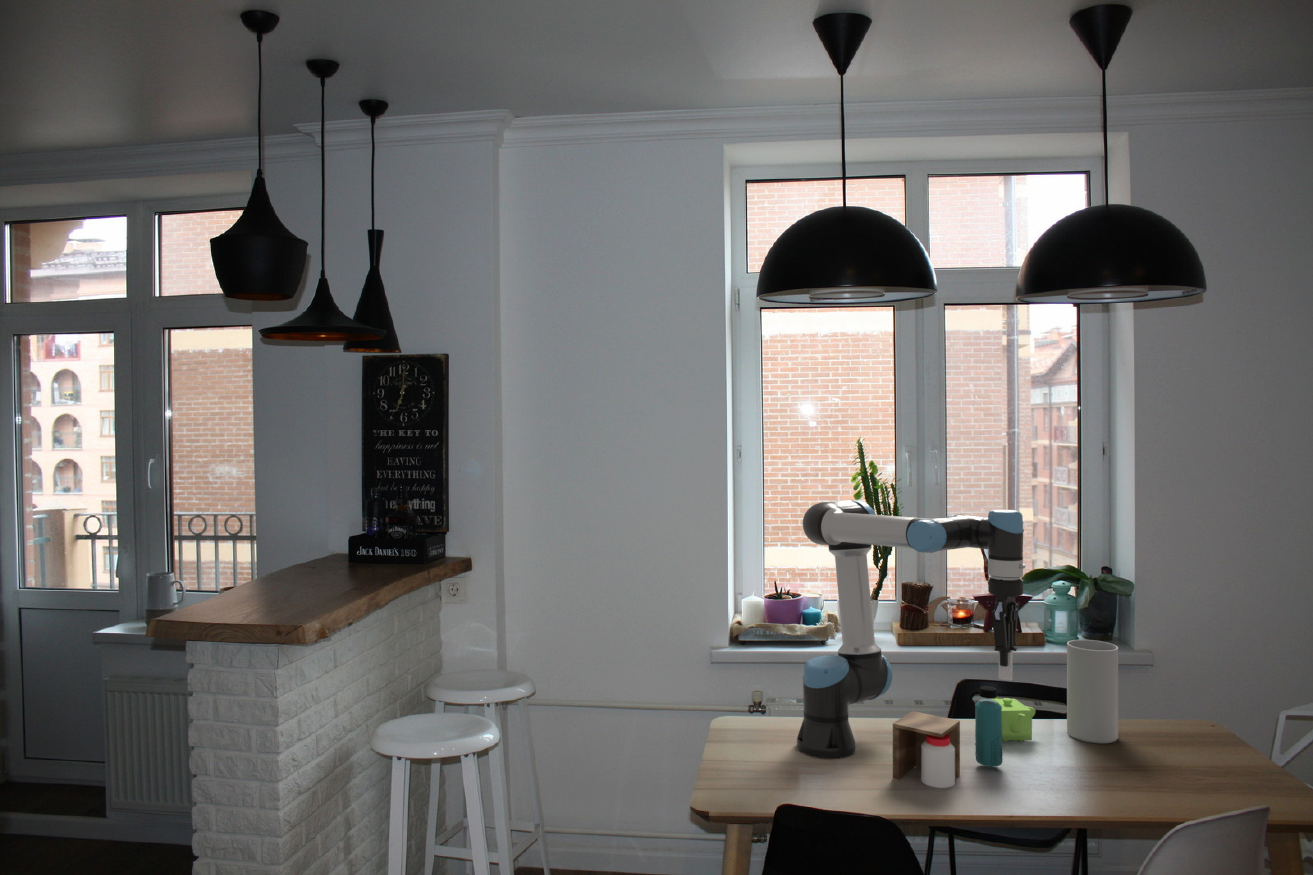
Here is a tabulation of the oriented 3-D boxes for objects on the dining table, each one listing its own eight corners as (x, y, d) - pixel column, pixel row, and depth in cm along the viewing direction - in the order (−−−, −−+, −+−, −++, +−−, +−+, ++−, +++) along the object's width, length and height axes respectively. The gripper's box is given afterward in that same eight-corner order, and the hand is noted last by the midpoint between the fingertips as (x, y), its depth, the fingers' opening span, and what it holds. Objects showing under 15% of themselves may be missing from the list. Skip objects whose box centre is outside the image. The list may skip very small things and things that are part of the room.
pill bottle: (916, 775, 216) (916, 730, 216) (947, 774, 216) (947, 729, 216) (927, 788, 208) (927, 741, 208) (960, 787, 208) (960, 741, 208)
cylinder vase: (1060, 727, 250) (1061, 639, 249) (1108, 729, 248) (1108, 640, 248) (1075, 743, 237) (1075, 650, 237) (1125, 745, 236) (1125, 651, 235)
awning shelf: (892, 778, 214) (892, 723, 214) (912, 763, 223) (912, 711, 223) (941, 791, 207) (941, 734, 206) (959, 775, 216) (959, 720, 216)
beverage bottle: (1005, 773, 217) (1005, 692, 216) (976, 771, 218) (976, 690, 218) (1000, 763, 223) (1000, 684, 223) (972, 762, 224) (972, 683, 224)
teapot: (1024, 751, 232) (1024, 710, 232) (973, 740, 240) (973, 701, 240) (1041, 735, 244) (1041, 696, 244) (991, 725, 252) (991, 688, 252)
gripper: (1013, 582, 197) (1013, 688, 198) (1030, 575, 208) (1030, 675, 208) (979, 579, 202) (979, 682, 202) (997, 572, 212) (997, 670, 213)
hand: (1005, 679), depth 205 cm, fingers closed
